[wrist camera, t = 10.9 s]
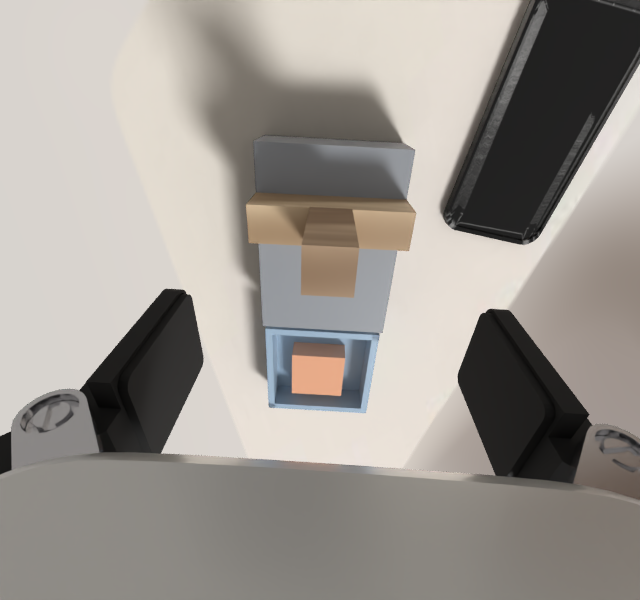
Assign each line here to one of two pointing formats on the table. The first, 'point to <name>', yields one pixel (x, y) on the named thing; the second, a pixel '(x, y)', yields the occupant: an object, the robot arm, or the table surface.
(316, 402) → the tray
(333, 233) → the scraper
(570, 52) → the phone
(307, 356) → the tile
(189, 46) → the table surface
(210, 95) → the table surface
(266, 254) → the gray rectangular block
